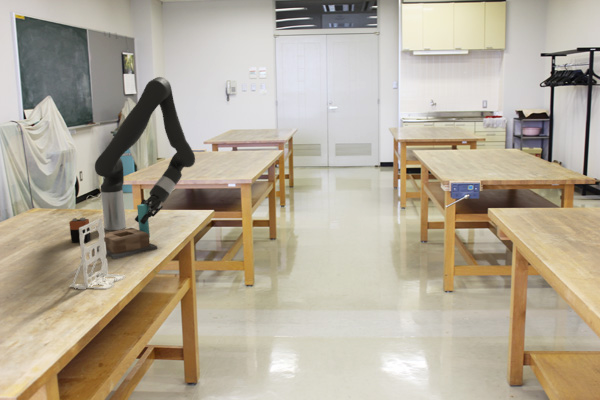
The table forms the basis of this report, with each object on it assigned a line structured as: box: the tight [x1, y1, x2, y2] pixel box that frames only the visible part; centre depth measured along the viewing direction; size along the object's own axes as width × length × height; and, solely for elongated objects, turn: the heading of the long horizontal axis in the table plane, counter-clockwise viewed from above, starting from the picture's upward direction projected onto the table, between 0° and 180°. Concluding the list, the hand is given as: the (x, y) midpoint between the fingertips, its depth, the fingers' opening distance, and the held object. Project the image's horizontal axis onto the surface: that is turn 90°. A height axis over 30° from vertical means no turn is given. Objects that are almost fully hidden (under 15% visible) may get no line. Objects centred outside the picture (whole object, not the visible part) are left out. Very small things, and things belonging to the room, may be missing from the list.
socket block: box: [92, 227, 158, 260], centre depth 229 cm, size 18×18×6 cm
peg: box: [137, 203, 151, 239], centre depth 245 cm, size 4×4×14 cm
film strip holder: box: [69, 218, 126, 290], centre depth 191 cm, size 14×14×20 cm
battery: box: [68, 217, 92, 244], centre depth 242 cm, size 4×7×10 cm, turn 90°
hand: (139, 221), depth 244 cm, fingers closed on peg, 4 cm apart
